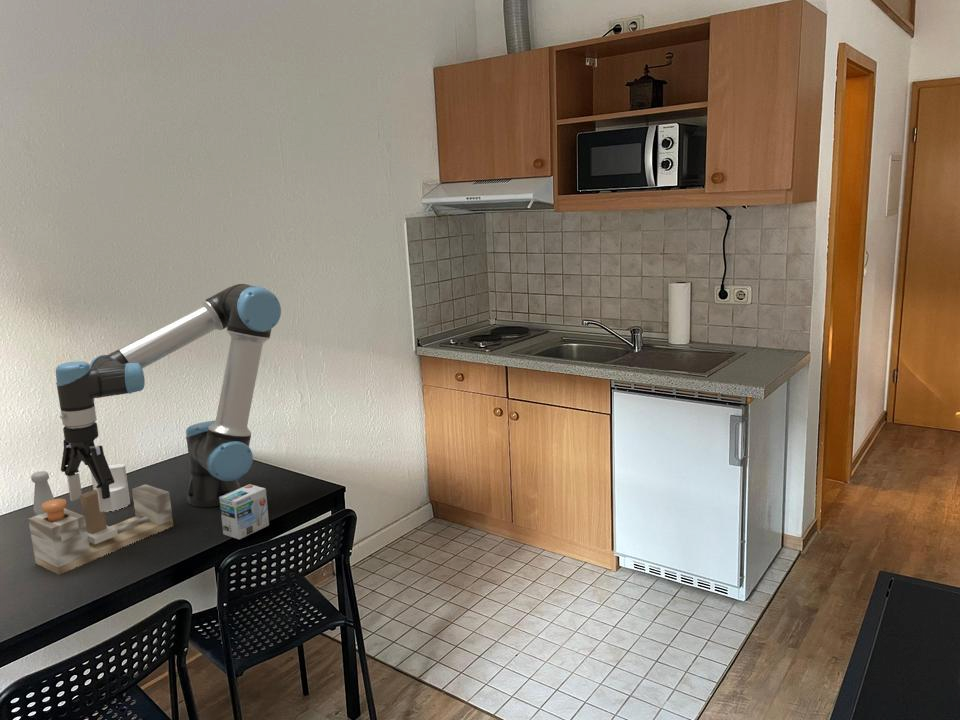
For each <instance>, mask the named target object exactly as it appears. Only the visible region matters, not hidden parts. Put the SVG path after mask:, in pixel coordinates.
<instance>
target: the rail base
mask: <svg viewBox="0 0 960 720" xmlns="http://www.w3.org/2000/svg"><path fill="white" fill-rule="evenodd" d="M131 492H132V499H133V506H134V507H133V508H134V513H135V516H133V517H130V518H128V519H125V520H123V521H120V522H117V523H115V524H112V525H111V526H110V527H112V528H115V529H117V532H118V535H117V536H114V537H112V538H110V539H107V540H105V541H102V542H100V543H97V544H93V543H91V542H89V541H88V534H87V528H86V521H85V516H83V514H81V513H78V512H75V511H72V510H70V509H67V508H65V509H64V514H65V518H63V519H61V520H58V521H55V522H49V521H48V516H47V513H46V512H45V513H43V514H40V515H34V516H32V517H28V518H27V520H28V525H29V531H30V537H31V543H32V548H33V554H34V562H35V564H36V565H38V566H40V567H42V568H45V569H46V570H48V571H51V572H52V573H55V574H57V575H58V576H60V575H62V574H64V573H68V572H69V570H70V571H71V570H73V569H77V568H79V567H81V566H83V564H84V565H86V564H88V563H90V561H91V562H93V561H95V560H98V559H100V558H102V557H104V555H105V556H107V555H109V554H111V552H112V553H113V552H116V551H119V550H121V549H123V548H122V547H124V548H126V547H128V546H130V545H129V544H131V545H133V544H135V543H137V542H136V541H138V542H140V541H142V540H145V539H147V538H149V537H151V536H150V535H152V536H154V535H157V534H159V533H161V532H163V531H165V529H166V530H169V529H170V527H171V528H172V527H174V520H173V512H172V502H171V496H170V491H167V490H164V489H161V488H158V487H155V486H152V485H149V484H146V483H145V484H142V485H140V486H136V487H134V488H131ZM158 532H159V533H158ZM153 534H154V535H153ZM148 536H149V537H148ZM146 537H147V538H146ZM144 538H145V539H144ZM141 539H142V540H141ZM139 540H140V541H139ZM134 542H135V543H134ZM132 543H133V544H132ZM127 545H128V546H127ZM125 546H126V547H125ZM120 548H121V549H120ZM118 549H119V550H118ZM108 553H109V554H108ZM106 554H107V555H106ZM99 557H100V558H99ZM97 558H98V559H97ZM92 560H93V561H92ZM85 563H86V564H85ZM76 567H77V568H76Z"/></svg>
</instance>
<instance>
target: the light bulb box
mask: <svg viewBox="0 0 960 720" xmlns="http://www.w3.org/2000/svg"><path fill="white" fill-rule="evenodd" d="M219 499H220V505H219V507H220V508H219V509H220V515H221V525H222V534H223V535H224V536H227V537H230V538H234V539H236V540H242V539H243V538H246V537H248V536H249V535H251V534H252V535H253V534H254V533H256V532H259V531H260V530H262V529H264V528H266V527H268V526H270V521H269V519H270V518H269V509H268V498H267V488H265V487H262V486H261V487H260V486H258V485H255V484H251V483H249V484H246V485H245V486H242V487H241V488H240V489H237V490H235V491H233V492H230V493H228V494H226V495H223V496H221V497H219Z"/></svg>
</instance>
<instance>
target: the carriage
mask: <svg viewBox="0 0 960 720" xmlns="http://www.w3.org/2000/svg"><path fill="white" fill-rule="evenodd" d="M79 501H80V506H81V507H80V508H81V512H82V513H81V515H83V516H85V521H86V528H87V534H88V541H89V542H91V543H93V544H97V543H100V542H102V541H105V540H107V539H110V538H112V537H114V536H117V535H118V532H117V529H115V528H112V527H110V526H109V525H107V521H106V512H104V511H103V512H100V509H99V501H98V494H97V490H94V489H93V490H89V491H87V492H84V493H82V494H81V495H80V498H79Z"/></svg>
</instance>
